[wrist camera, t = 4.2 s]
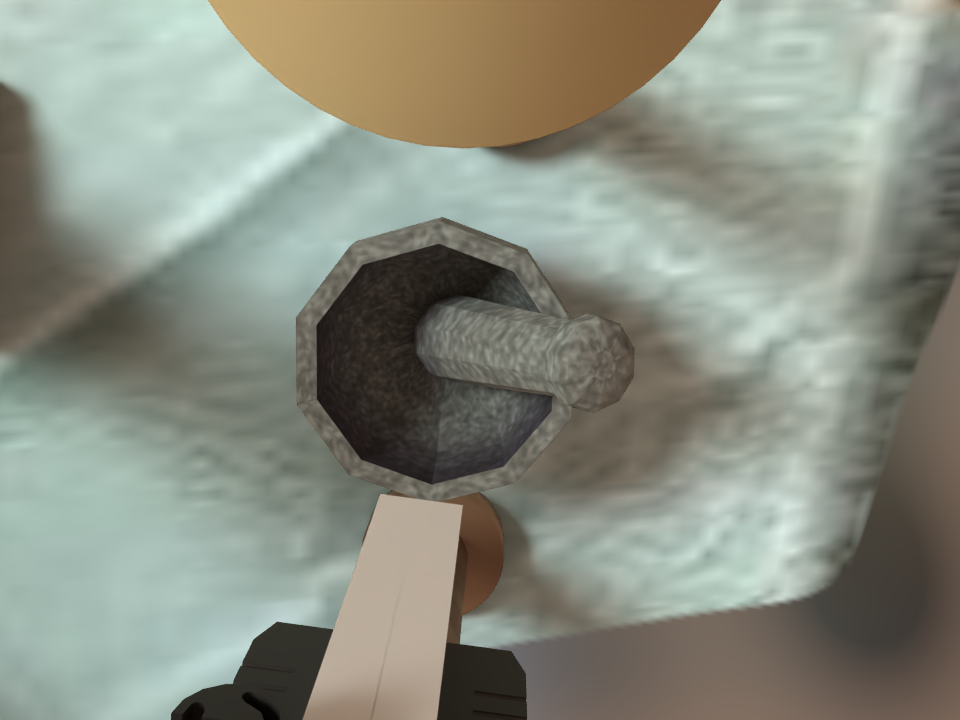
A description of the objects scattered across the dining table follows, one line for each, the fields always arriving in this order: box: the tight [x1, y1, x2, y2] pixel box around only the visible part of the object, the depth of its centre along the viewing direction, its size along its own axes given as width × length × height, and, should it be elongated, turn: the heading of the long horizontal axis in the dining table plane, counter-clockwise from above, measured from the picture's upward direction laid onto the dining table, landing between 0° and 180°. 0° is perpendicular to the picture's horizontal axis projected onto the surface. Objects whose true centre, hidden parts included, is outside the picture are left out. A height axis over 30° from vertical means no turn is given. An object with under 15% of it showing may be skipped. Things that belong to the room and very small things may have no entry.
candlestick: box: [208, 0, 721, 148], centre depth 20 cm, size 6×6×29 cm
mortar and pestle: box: [296, 217, 634, 502], centre depth 31 cm, size 11×9×12 cm
